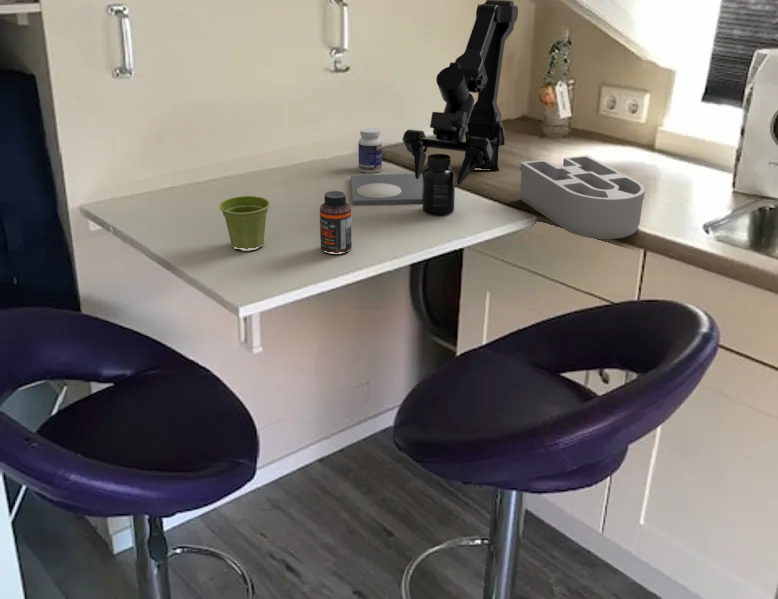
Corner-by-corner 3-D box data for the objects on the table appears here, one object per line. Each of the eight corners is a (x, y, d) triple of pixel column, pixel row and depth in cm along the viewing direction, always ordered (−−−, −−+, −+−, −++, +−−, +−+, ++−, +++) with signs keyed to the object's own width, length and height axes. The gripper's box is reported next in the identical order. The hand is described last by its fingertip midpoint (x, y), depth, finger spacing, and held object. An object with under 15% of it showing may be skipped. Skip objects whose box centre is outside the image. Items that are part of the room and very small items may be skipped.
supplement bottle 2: (459, 208, 185) (461, 154, 180) (446, 218, 180) (447, 163, 175) (430, 203, 188) (431, 150, 183) (416, 213, 183) (417, 158, 177)
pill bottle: (381, 173, 208) (381, 133, 203) (357, 173, 208) (357, 133, 203) (382, 166, 213) (382, 126, 208) (359, 166, 213) (358, 126, 208)
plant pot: (277, 252, 164) (274, 209, 160) (227, 258, 161) (224, 215, 157) (266, 235, 172) (264, 193, 168) (219, 241, 169) (215, 199, 165)
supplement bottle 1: (314, 252, 164) (312, 195, 159) (332, 241, 168) (330, 186, 163) (340, 258, 161) (338, 201, 156) (357, 248, 166) (357, 192, 161)
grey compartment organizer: (583, 192, 196) (587, 155, 192) (656, 235, 172) (662, 194, 168) (517, 200, 191) (520, 162, 187) (583, 245, 167) (588, 203, 164)
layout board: (443, 177, 205) (443, 172, 204) (453, 202, 189) (453, 197, 188) (350, 179, 204) (350, 174, 203) (353, 205, 187) (352, 199, 187)
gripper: (406, 91, 181) (385, 156, 176) (491, 99, 174) (472, 167, 170) (419, 120, 190) (399, 182, 186) (500, 128, 184) (482, 193, 180)
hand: (437, 180), depth 180 cm, fingers open, 9 cm apart
